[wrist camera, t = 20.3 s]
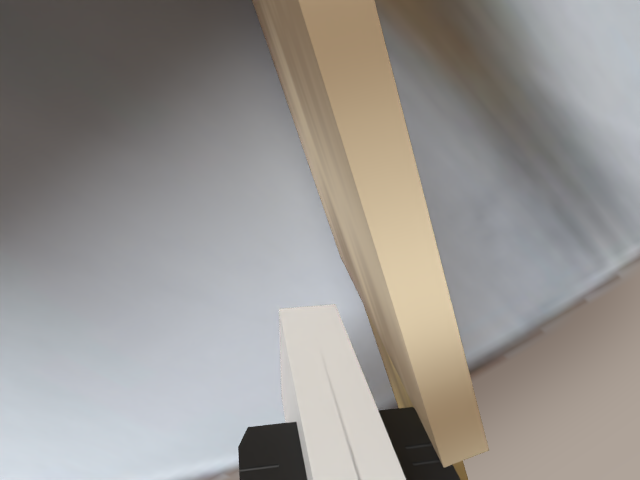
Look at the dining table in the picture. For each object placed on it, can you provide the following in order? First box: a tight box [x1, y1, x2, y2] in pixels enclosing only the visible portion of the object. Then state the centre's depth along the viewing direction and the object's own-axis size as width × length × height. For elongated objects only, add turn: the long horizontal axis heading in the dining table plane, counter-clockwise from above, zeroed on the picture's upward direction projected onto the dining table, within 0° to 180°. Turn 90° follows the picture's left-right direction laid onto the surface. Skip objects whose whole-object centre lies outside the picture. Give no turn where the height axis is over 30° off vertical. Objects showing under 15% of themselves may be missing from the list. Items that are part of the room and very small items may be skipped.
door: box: [252, 0, 489, 480], centre depth 11 cm, size 21×1×8 cm, turn 18°
